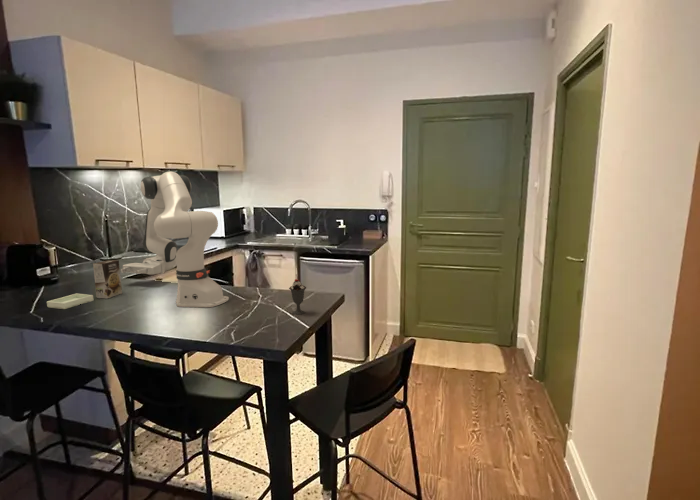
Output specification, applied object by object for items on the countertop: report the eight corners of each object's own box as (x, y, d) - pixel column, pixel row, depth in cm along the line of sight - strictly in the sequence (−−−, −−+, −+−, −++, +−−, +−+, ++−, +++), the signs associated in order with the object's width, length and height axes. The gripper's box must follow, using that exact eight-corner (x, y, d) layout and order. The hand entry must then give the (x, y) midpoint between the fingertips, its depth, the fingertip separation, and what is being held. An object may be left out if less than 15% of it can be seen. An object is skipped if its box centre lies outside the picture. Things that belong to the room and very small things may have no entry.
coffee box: (108, 298, 186) (104, 263, 184) (96, 298, 187) (91, 263, 185) (123, 293, 195) (119, 259, 192) (111, 292, 196) (107, 259, 194)
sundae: (298, 308, 166) (297, 272, 164) (310, 312, 162) (309, 274, 160) (286, 313, 161) (284, 275, 159) (298, 316, 157) (296, 278, 155)
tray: (93, 300, 183) (92, 295, 183) (64, 309, 171) (63, 303, 171) (76, 298, 187) (76, 293, 186) (47, 307, 174) (46, 301, 174)
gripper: (135, 259, 217) (112, 264, 204) (166, 261, 210) (144, 266, 197) (136, 270, 218) (113, 276, 205) (167, 273, 211) (146, 279, 198)
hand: (129, 271), depth 201 cm, fingers open, 8 cm apart
